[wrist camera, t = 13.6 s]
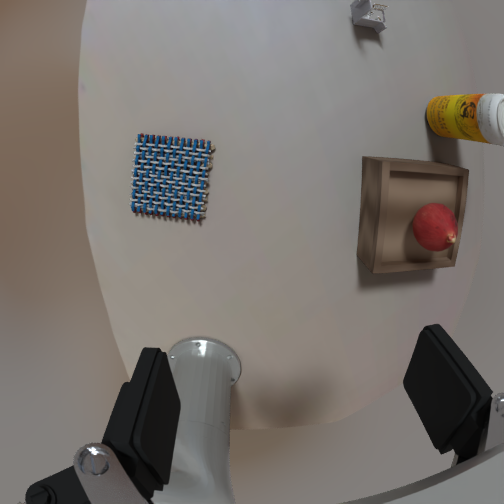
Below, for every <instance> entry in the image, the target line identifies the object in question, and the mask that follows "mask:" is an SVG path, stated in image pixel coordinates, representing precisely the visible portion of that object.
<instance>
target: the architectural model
mask: <svg viewBox="0 0 504 504" xmlns="http://www.w3.org/2000/svg"><path fill="white" fill-rule="evenodd" d="M374 5H375V8H374ZM376 5H379V4H375V3H374V4H373V5H371V0H360V1H359V0H355V1H354V2H353V3H352V4H351V5H350V7H351V13H352V19H353V25H359V26H365V27H372V28H374V29H375V31H376V32H377V34H378V33H379V32H381V31H383V30H384V29H386V28H387V27H386V25H385V24H384V23H383V22H385V17H384V10H385V9H386V8H388V7H389V6H385V9H383V10H382V9H381V6H384V5H380V9H376ZM372 6H373V8H372ZM373 9H374V10H379V11H382V13H383V19H384V21H381V20H380V21H379V20H374V19H370V18H369V17H370V16H371V15H372V14H374V13H372V12H371V11H372V10H373ZM370 12H371V14H370V15H368V13H370ZM377 18H379V16H378V17H376V18H375V19H377ZM379 19H380V18H379Z"/></svg>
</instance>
